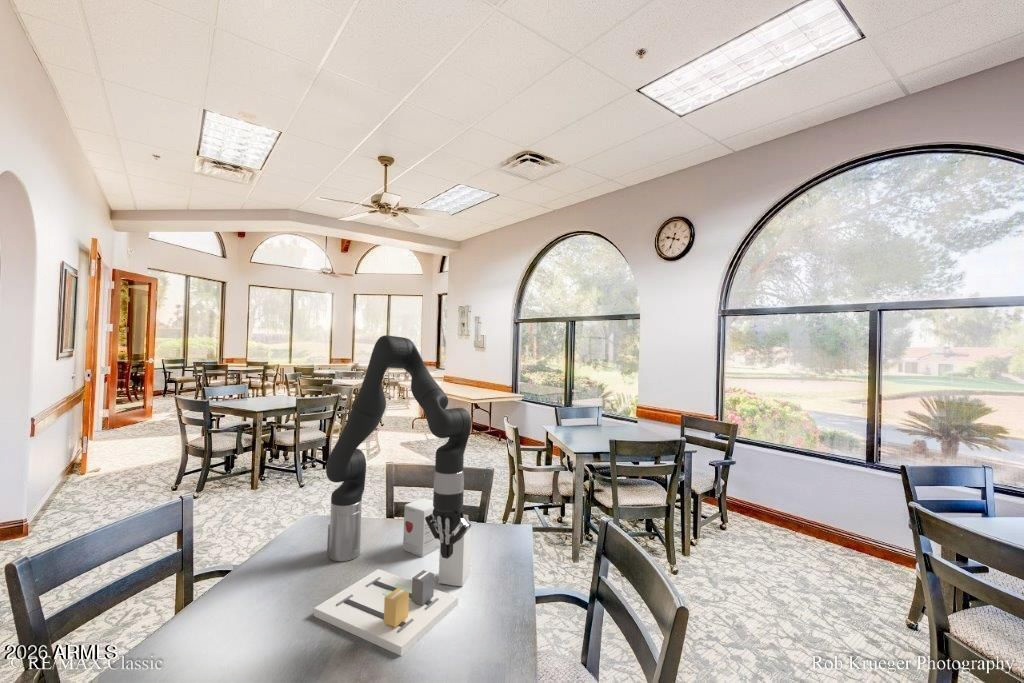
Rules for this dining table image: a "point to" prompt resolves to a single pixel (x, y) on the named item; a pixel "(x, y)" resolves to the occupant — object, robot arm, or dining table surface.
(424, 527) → the supplement box
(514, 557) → the dining table surface
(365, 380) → the robot arm
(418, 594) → the fader charcoal
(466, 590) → the dining table surface
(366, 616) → the board
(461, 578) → the milk carton
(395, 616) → the fader amber
